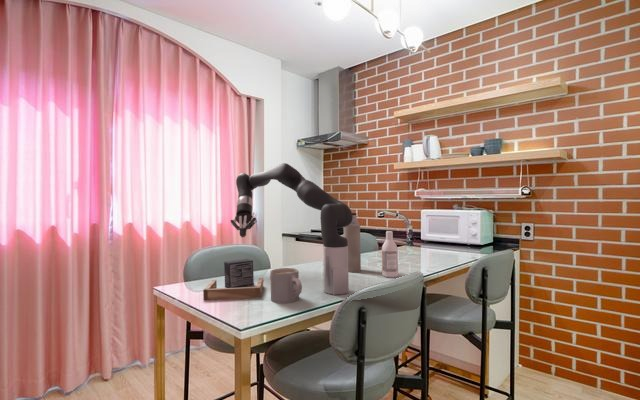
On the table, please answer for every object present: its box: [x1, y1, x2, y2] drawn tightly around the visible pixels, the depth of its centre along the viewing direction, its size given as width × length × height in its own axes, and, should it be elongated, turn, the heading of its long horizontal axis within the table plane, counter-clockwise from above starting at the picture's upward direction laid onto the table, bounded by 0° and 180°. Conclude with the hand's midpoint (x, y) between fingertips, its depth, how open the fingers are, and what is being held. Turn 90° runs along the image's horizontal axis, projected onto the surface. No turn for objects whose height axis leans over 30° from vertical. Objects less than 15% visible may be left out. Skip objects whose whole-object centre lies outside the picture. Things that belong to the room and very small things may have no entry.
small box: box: [223, 258, 255, 288], centre depth 145 cm, size 11×6×10 cm, turn 124°
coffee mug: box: [269, 267, 303, 304], centre depth 123 cm, size 13×10×10 cm
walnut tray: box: [202, 277, 264, 301], centre depth 134 cm, size 16×20×4 cm
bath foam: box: [381, 230, 399, 278], centre depth 157 cm, size 7×7×20 cm
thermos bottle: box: [343, 212, 362, 273], centre depth 170 cm, size 8×8×28 cm
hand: (242, 236), depth 165 cm, fingers closed
